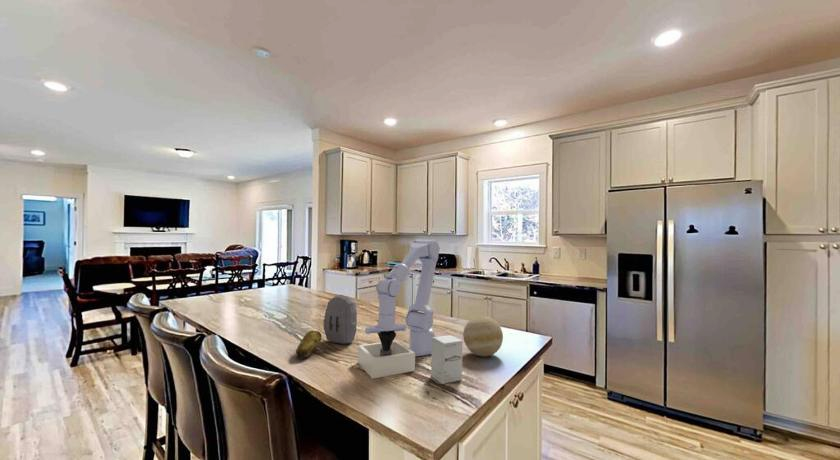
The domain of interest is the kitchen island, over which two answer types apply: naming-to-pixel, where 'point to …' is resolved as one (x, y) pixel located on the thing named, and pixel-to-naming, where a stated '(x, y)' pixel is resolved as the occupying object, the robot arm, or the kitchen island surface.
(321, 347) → the kitchen island surface
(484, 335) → the decorative ball
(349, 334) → the small grey backpack
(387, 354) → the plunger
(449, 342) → the supplement box
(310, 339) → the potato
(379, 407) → the kitchen island surface
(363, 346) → the white square storage bin
